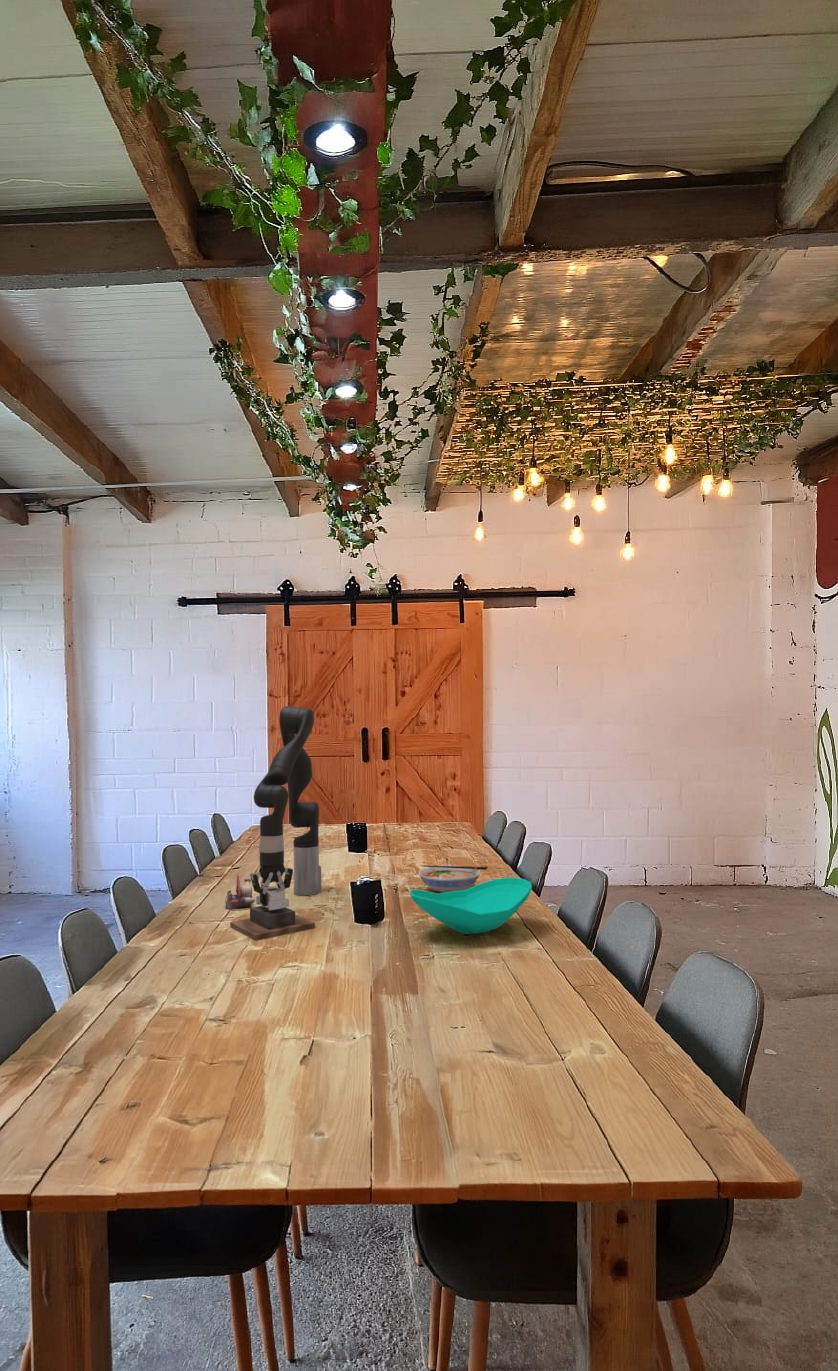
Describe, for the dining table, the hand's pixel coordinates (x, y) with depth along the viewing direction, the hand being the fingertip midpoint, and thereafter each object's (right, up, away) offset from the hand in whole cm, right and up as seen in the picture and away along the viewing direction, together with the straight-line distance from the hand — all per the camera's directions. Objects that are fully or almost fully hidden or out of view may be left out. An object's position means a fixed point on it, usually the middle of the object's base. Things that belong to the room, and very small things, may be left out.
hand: (272, 903), depth 242 cm
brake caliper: (-16, -8, +25) cm, 31 cm away
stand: (0, -7, 0) cm, 7 cm away
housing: (0, 0, 0) cm, 0 cm away
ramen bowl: (+57, -8, +42) cm, 71 cm away
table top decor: (+62, -6, -7) cm, 63 cm away
